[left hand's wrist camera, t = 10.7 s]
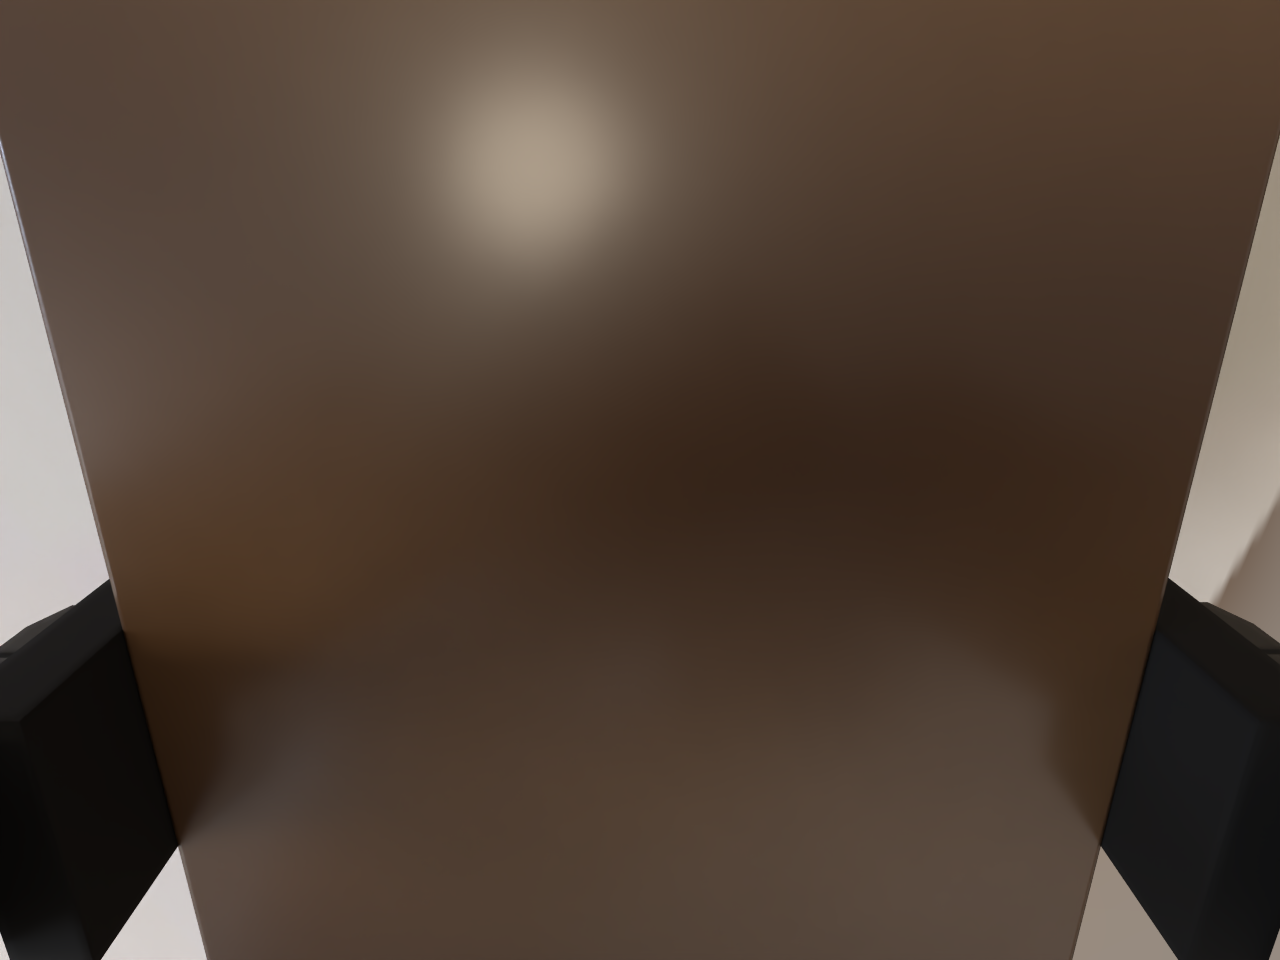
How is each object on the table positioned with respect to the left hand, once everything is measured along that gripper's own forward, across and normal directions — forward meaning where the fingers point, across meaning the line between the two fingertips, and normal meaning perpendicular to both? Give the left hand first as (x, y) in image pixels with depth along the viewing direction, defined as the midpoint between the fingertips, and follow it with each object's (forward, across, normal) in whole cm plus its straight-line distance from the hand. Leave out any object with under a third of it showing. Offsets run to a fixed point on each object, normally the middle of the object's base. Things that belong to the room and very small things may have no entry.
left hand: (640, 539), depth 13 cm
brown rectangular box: (+5, 0, -5) cm, 7 cm away
